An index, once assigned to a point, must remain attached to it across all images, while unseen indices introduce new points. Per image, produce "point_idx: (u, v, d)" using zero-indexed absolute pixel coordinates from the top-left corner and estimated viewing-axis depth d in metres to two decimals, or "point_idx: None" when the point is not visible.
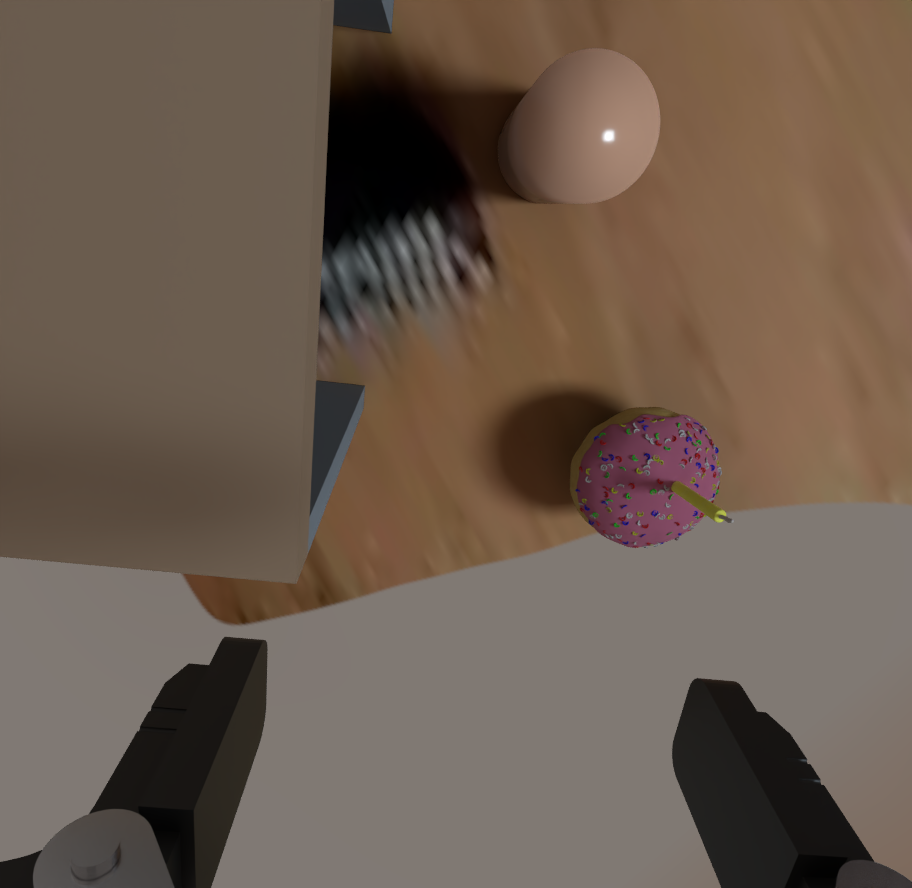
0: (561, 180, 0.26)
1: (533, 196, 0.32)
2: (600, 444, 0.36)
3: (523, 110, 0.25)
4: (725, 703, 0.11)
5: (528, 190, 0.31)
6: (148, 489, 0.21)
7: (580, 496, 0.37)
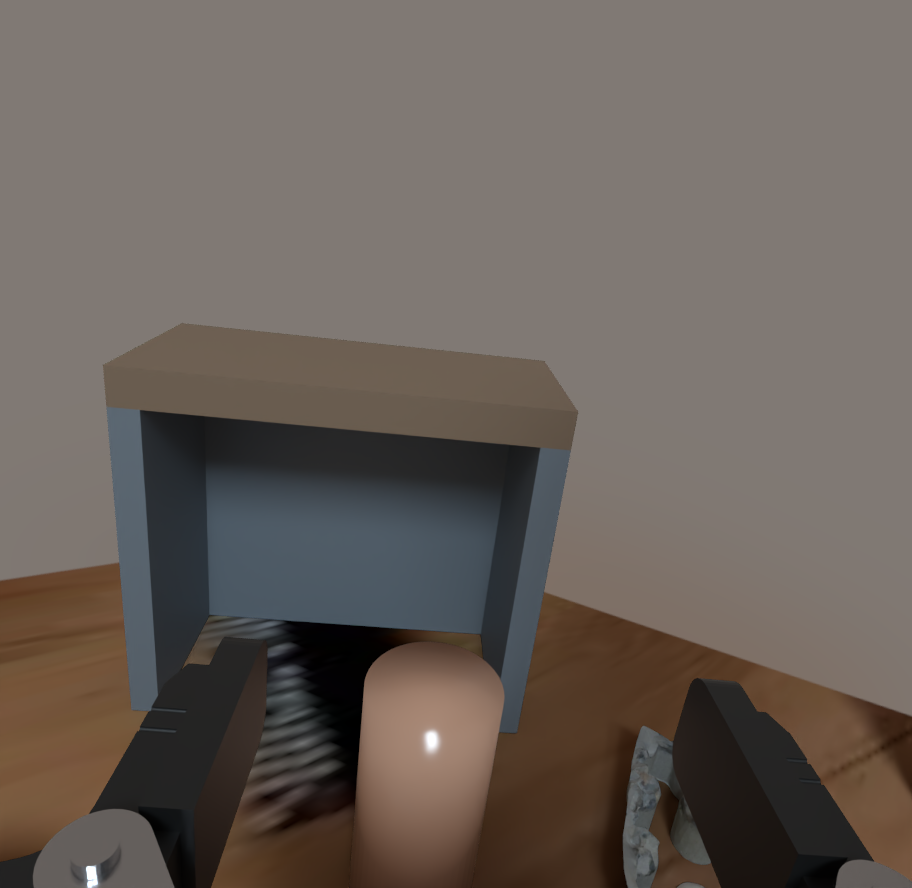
0: (385, 669, 0.26)
1: None
2: None
3: (441, 643, 0.28)
4: (725, 703, 0.11)
5: None
6: (203, 348, 0.34)
7: None
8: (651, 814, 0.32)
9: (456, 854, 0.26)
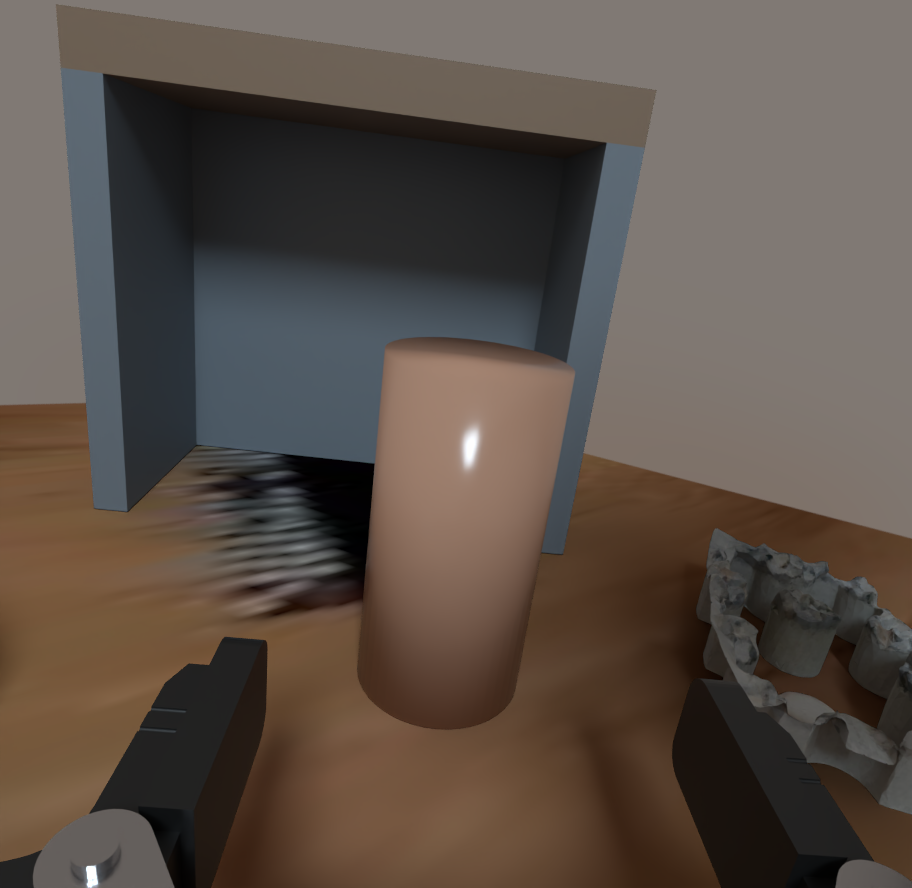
0: (412, 344, 0.19)
1: None
2: None
3: (485, 342, 0.21)
4: (725, 703, 0.11)
5: None
6: None
7: None
8: (737, 616, 0.25)
9: (506, 588, 0.19)
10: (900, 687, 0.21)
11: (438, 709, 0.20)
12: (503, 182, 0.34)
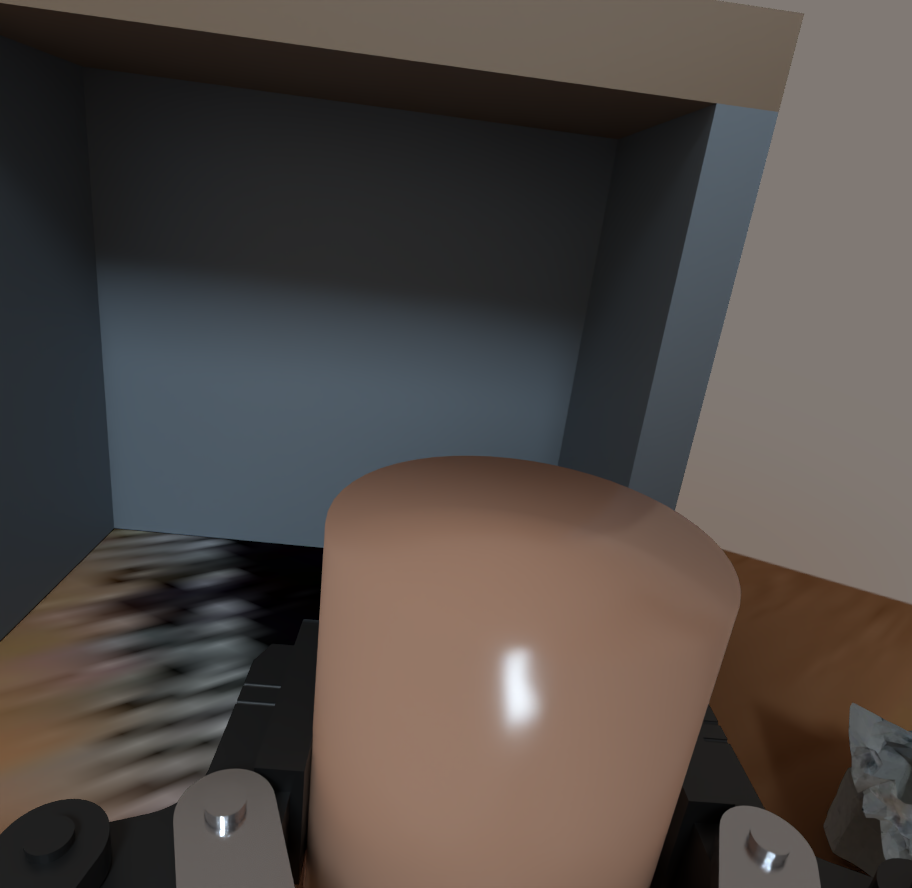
0: (388, 492, 0.10)
1: None
2: None
3: (527, 463, 0.11)
4: None
5: None
6: None
7: None
8: None
9: None
10: None
11: None
12: (530, 173, 0.24)
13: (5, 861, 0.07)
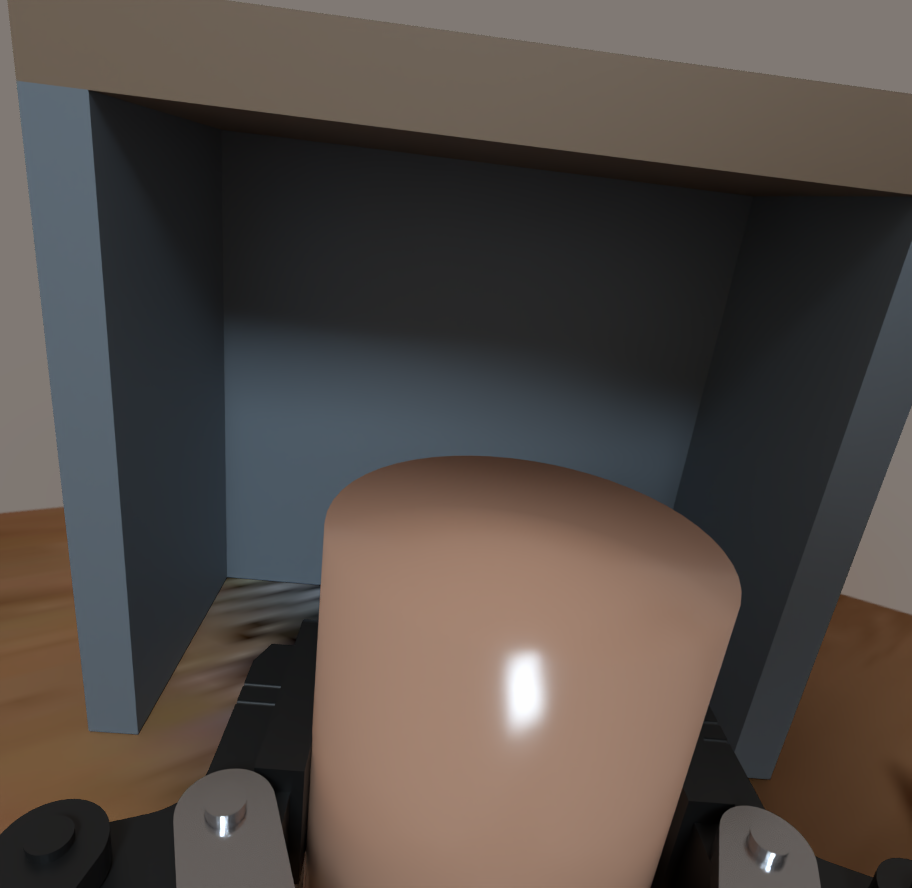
0: (387, 492, 0.10)
1: None
2: None
3: (527, 463, 0.11)
4: None
5: None
6: None
7: None
8: None
9: None
10: None
11: None
12: (662, 230, 0.24)
13: (5, 861, 0.07)
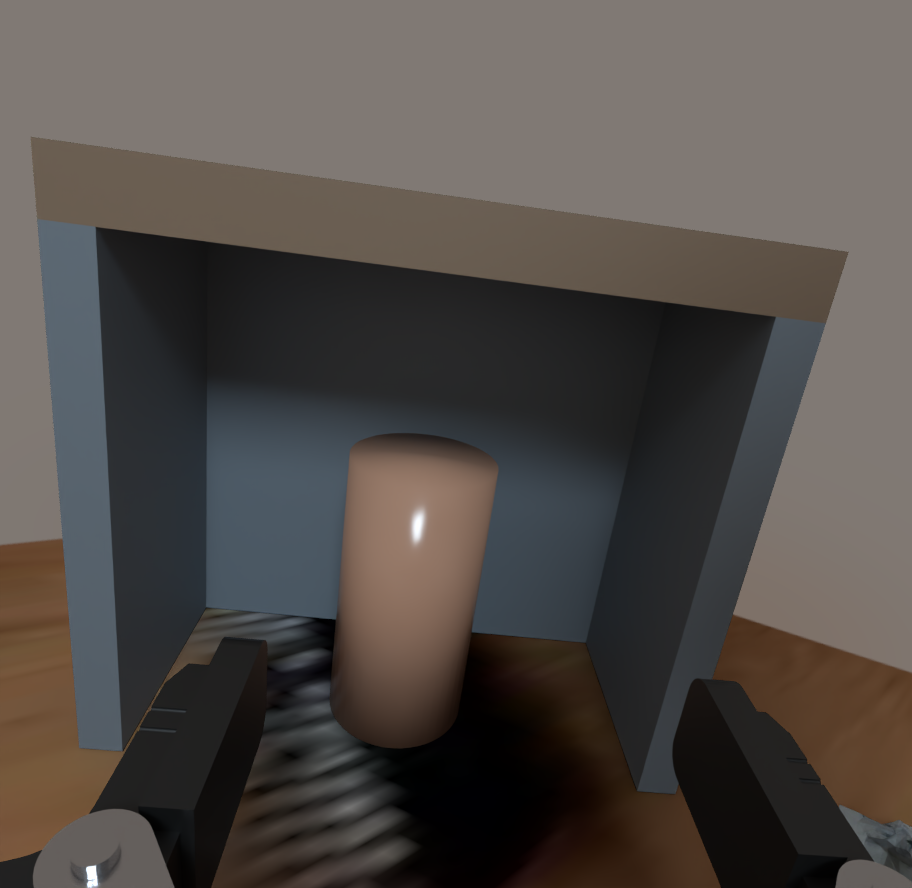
0: (372, 444, 0.25)
1: None
2: None
3: (433, 436, 0.27)
4: (725, 703, 0.11)
5: None
6: None
7: None
8: None
9: (444, 639, 0.24)
10: None
11: (391, 732, 0.25)
12: (592, 311, 0.27)
13: None
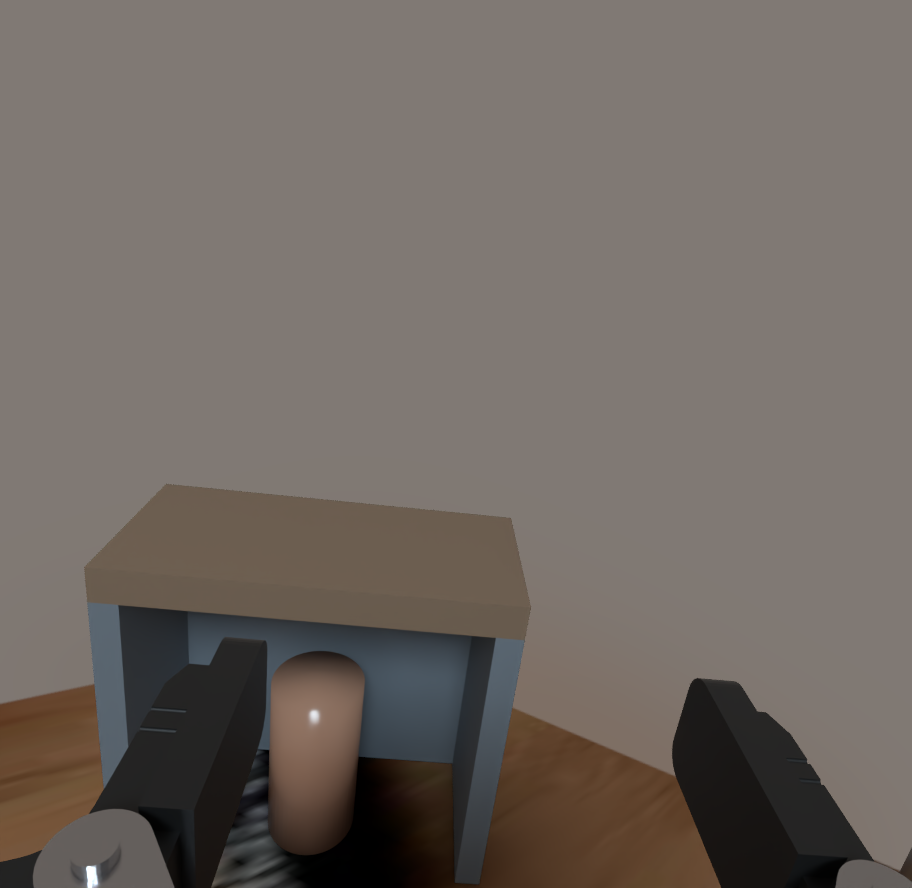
0: (288, 669, 0.40)
1: None
2: None
3: (331, 652, 0.42)
4: (725, 703, 0.11)
5: None
6: (182, 527, 0.36)
7: None
8: None
9: (331, 791, 0.39)
10: None
11: (302, 846, 0.40)
12: None
13: None
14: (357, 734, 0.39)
